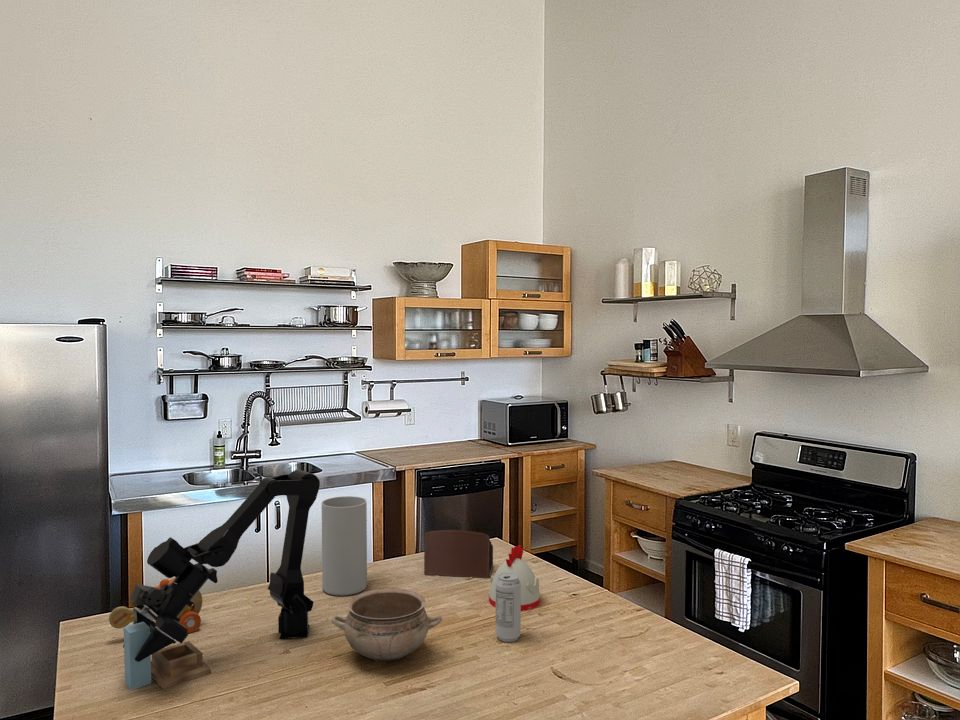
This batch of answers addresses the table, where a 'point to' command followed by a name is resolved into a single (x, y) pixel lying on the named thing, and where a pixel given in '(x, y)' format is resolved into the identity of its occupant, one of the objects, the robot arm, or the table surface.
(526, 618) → the table surface
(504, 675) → the table surface
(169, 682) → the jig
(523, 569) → the kitchen timer
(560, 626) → the table surface
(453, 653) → the table surface
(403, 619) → the cooking pot
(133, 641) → the pale blue tower
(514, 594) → the energy drink can
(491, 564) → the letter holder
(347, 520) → the cylinder vase
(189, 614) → the toy helicopter
